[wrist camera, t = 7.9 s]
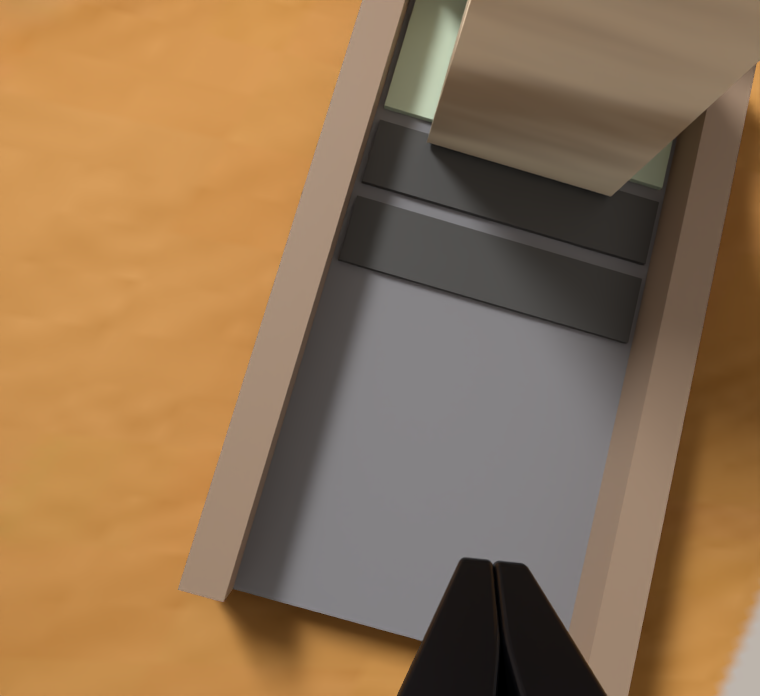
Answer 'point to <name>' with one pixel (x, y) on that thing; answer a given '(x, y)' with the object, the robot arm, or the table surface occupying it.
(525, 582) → the robot arm
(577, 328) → the box
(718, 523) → the table surface
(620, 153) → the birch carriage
